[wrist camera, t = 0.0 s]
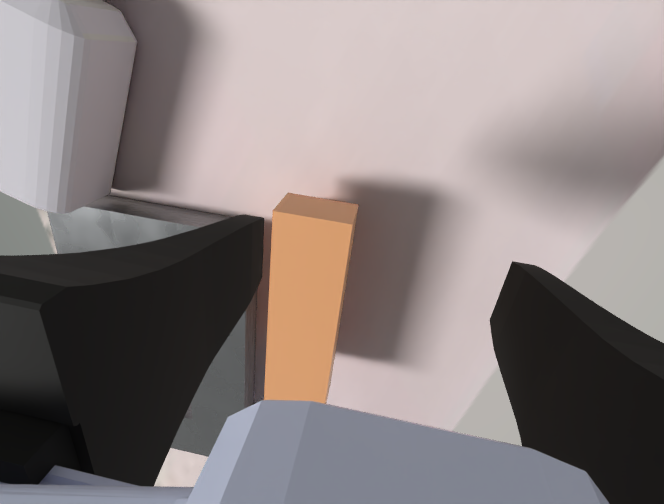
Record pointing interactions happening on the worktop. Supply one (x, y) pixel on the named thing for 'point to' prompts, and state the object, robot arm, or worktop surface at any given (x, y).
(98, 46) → the charger
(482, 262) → the worktop surface
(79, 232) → the gray rectangular slab
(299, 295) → the clip
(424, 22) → the worktop surface
